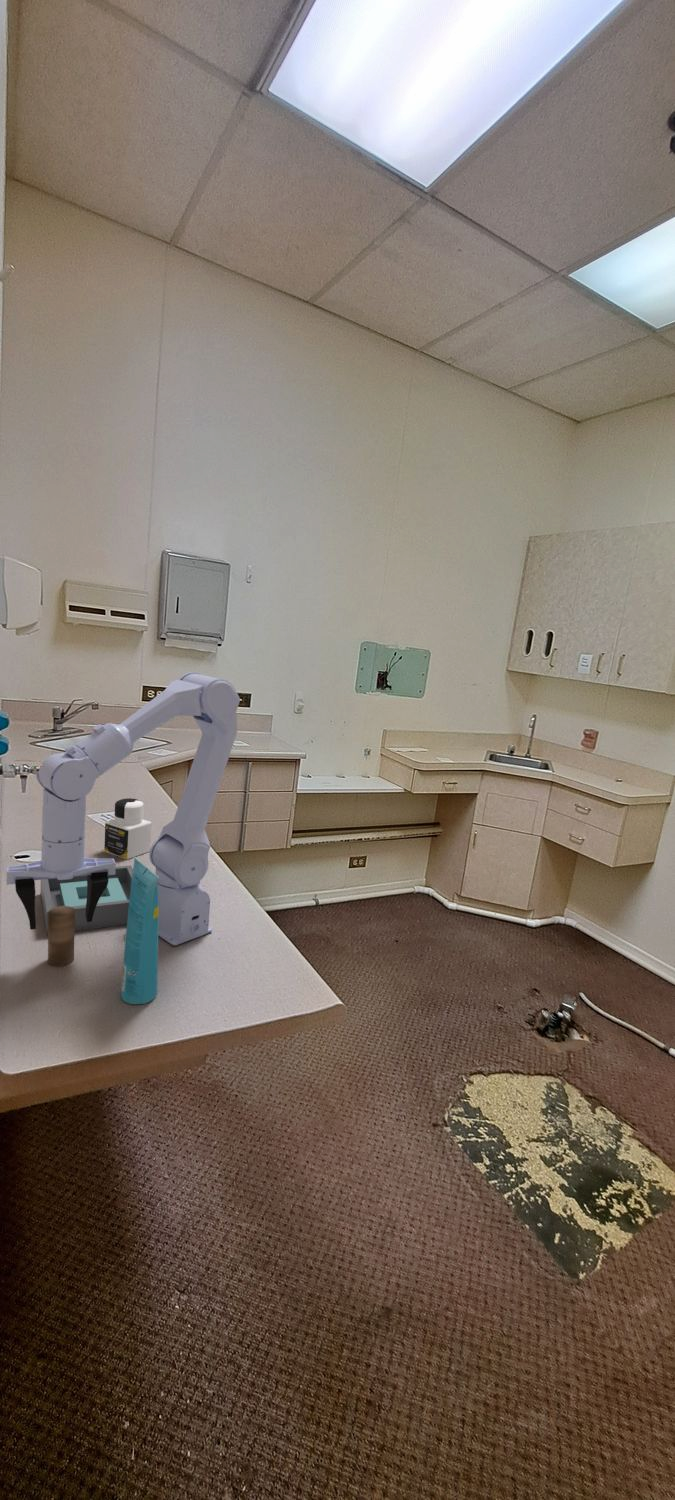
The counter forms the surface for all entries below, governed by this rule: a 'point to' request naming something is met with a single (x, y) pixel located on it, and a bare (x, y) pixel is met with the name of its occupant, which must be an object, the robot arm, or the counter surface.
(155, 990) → the tube
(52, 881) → the tray
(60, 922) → the peg
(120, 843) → the medicine bottle
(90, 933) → the counter surface
